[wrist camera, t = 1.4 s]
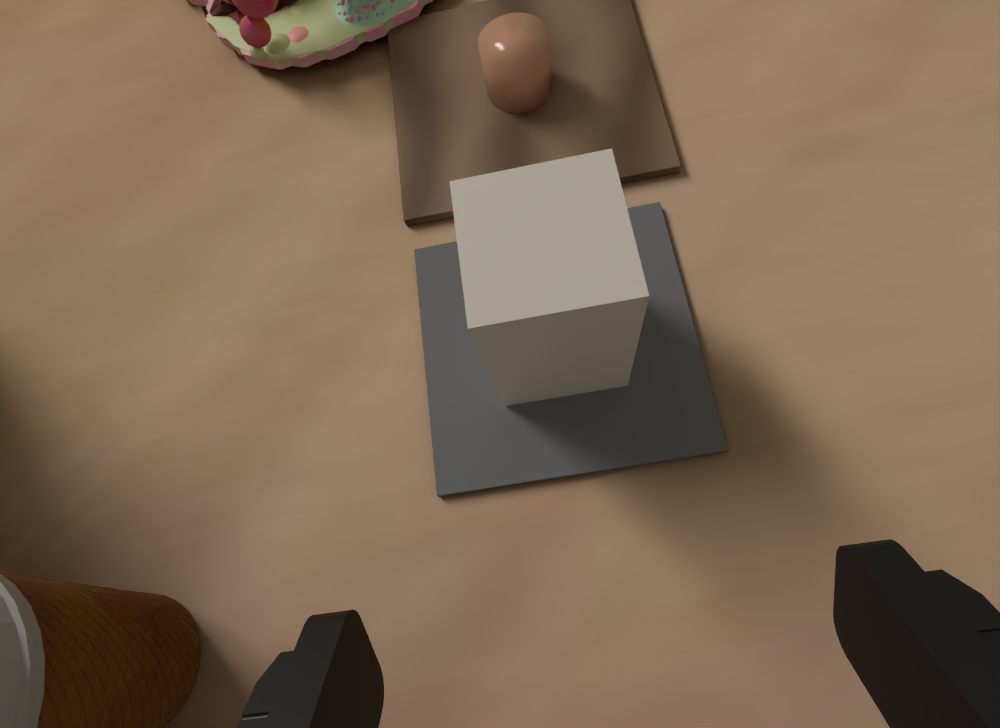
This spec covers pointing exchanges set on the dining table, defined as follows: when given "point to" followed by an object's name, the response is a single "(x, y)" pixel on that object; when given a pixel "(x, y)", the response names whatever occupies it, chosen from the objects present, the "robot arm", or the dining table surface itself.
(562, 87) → the board
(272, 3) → the pastel sphere sculpture
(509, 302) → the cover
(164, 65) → the dining table surface
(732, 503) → the dining table surface
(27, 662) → the disposable coffee cup
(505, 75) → the glossy tan pebble
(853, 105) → the dining table surface
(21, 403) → the dining table surface
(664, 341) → the mat
